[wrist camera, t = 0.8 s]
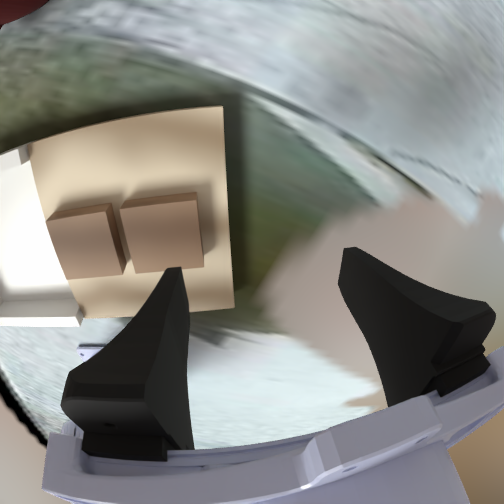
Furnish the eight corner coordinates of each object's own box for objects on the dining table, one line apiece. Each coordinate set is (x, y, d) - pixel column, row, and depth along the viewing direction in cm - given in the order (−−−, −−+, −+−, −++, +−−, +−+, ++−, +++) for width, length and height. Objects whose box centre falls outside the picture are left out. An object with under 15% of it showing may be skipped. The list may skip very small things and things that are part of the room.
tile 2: (126, 263, 21) (123, 275, 19) (72, 268, 20) (66, 280, 19) (111, 202, 18) (105, 211, 17) (53, 212, 17) (45, 221, 16)
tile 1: (203, 255, 21) (204, 267, 20) (138, 262, 21) (135, 273, 19) (196, 191, 19) (196, 200, 17) (124, 200, 18) (119, 209, 17)
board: (232, 292, 26) (234, 307, 24) (90, 304, 24) (84, 318, 23) (221, 105, 18) (222, 106, 16) (40, 138, 16) (27, 144, 14)
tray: (88, 304, 24) (80, 326, 22) (3, 307, 23) (-7, 325, 20) (38, 139, 16) (17, 148, 13) (-49, 175, 14) (-67, 187, 12)
